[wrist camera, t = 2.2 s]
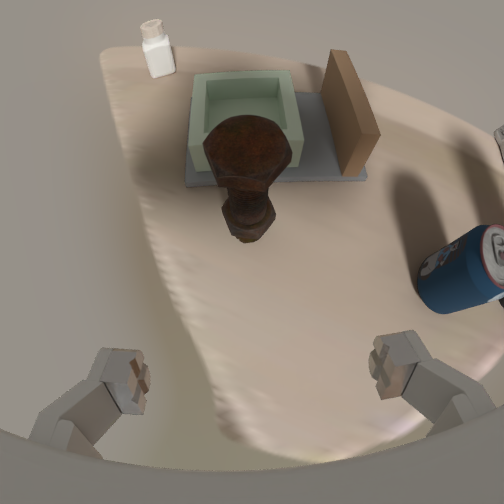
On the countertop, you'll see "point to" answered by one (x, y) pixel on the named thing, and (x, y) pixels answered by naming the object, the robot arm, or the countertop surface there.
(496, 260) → the soda can
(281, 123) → the socket block
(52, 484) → the robot arm
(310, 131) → the backstop board
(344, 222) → the countertop surface
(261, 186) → the bolt
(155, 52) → the pepper shaker
